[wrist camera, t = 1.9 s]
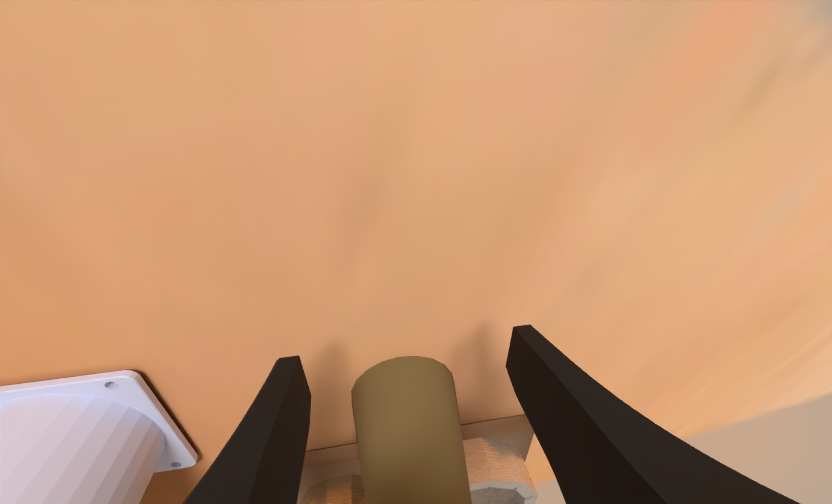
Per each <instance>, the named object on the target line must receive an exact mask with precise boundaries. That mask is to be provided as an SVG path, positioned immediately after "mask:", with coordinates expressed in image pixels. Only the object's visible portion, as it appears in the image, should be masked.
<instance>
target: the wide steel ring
mask: <svg viewBox="0 0 832 504" xmlns="http://www.w3.org/2000/svg"><path fill="white" fill-rule="evenodd" d="M463 446H464V453H465V459H466V466H467V473H468V480H469V486H470V491H473V490H478V489H483V488H485V489H483V490H481V491H479V492H476V493H474V494H472V495H471V500H472V504H534V503H535V501H536V499H537V496H538V494H537V492H536V489H535V487H534V484H533V482H532V479H531V477H530V475H529V472H528V470H527V467H526V465H525V462H524V460H523V458H522V455H521V454H520V453H519V452H518V451H517V450H516V449H515V448H514V447H513V446H512V444H511V443H510V442H506V441H500V440H494V439H488V438H481V437H480V438H474V439H468V440H463Z"/></svg>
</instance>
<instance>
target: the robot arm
mask: <svg viewBox="0 0 832 504" xmlns="http://www.w3.org/2000/svg"><path fill="white" fill-rule="evenodd" d="M506 368H507V371H508V374H509V377H510V380H511V383H512V385H513V388H514V391H515V393H516V396H517V398H518V400H519V402H520V404H521V406H522V408H523V410H524V412H525V414H526V416H527V419H528V421H529V423H530V425H531V427H532V429H533V431H534V433H535V435H536V437H537V439H538V441H539V443H540V445H541V447H542V449H543V451H544V453H545V455H546V457H547V459H548V461H549V463H550V465H551V467H552V470H553V472H554V474H555V476H556V479H557V482H558V484H559V487H560V489H561V491H562V494H563V497H564V499H565V502H566V504H800V503H798V502H796V501H794V500H792V499H790V498H788V497H785V496H784V495H782V494H779V493H777V492H775V491H773V490H771V489H769V488H767V487H765V486H763V485H761V484H759V483H757V482H755V481H753V480H752V479H750V478H748V477H746V476H744V475H742V474H740V473H738V472H737V471H735V470H733V469H731V468H729V467H727V466H726V465H724V464H722V463H720V462H718V461H716V460H715V459H713V458H711V457H709V456H708V455H706V454H704V453H702V452H701V451H699V450H697V449H695V448H694V447H692V446H690V445H689V444H687V443H686V442H684V441H682V440H681V439H679V438H677V437H676V436H674V435H672V434H671V433H669V432H668V431H666V430H665V429H663V428H661V427H660V426H658V425H657V424H655V423H654V422H652V421H651V420H649V419H648V418H646V417H645V416H643V415H642V414H640V413H639V412H637V411H636V410H634V409H633V408H632V407H630V406H629V405H627V404H626V403H625V402H623V401H622V400H620V399H619V398H618V397H616V396H615V395H614V394H612V393H611V392H610V391H608V390H607V389H606V388H604V387H603V386H602V385H600V384H599V383H598V382H597V381H595V380H594V379H593V378H592V377H590V376H589V375H588V374H587V373H586V372H584V371H583V370H582V369H581V368H580V367H578V366H577V365H576V364H575V363H573V362H572V361H571V360H570V359H569V358H568V357H566V356H565V355H564V354H563V353H562V352H561V351H560V350H558V349H557V348H556V347H555V346H554V345H553V344H552V343H550V342H549V341H548V340H547V339H546V338H545V337H544V336H542V335H541V334H540V333H539V332H538V331H537V330H536V329H535V328H533V327H532V326H531V325H523V326H516V327H513V331H512V336H511V342H510V347H509V352H508V357H507V362H506ZM310 409H311V393H310V390H309V386H308V383H307V380H306V377H305V373H304V370H303V367H302V364H301V360H300V357H299V356H292V357H284V358H279V359H278V360H277V361H276V363H275V365H274V367H273V368H272V370H271V372H270V374H269V376H268V378H267V379H266V381H265V383H264V385H263V386H262V388H261V390H260V391H259V393H258V395H257V397H256V398H255V400H254V402H253V403H252V405H251V406H250V408H249V410H248V411H247V413H246V414H245V416H244V418H243V419H242V421H241V422H240V424H239V426H238V427H237V429H236V430H235V432H234V433H233V435H232V436H231V438H230V439H229V441H228V442H227V443H226V445H225V446H224V448H223V449H222V451H221V452H220V454H219V455H218V457H217V458H216V460H215V461H214V462H213V464H212V465H211V467H210V468H209V469H208V471H207V472H206V473H205V475H204V476H203V477H202V479H201V480H200V481H199V483H198V484H197V485H196V487H195V488H194V489H193V491H192V492H191V493H190V495H189V496H188V497H187V498H186V500H185V501H184V502H183V504H297V499H298V493H299V487H300V481H301V475H302V470H303V464H304V458H305V452H306V446H307V439H308V433H309V425H310ZM197 459H198V455H197V454H196V452H195V451H194V449H193V448H192V447H191V445H190V444H189V442H188V441H187V440H186V438H185V437H184V435H183V434H182V433H181V431H180V430H179V429H178V427H177V426H176V424H175V423H174V422H173V420H172V419H171V417H170V416H169V415H168V413H167V412H166V410H165V409H164V408H163V406H162V405H161V403H160V402H159V401H158V399H157V398H156V397H155V395H154V394H153V392H152V391H151V390H150V388H149V387H148V385H147V384H146V383H145V381H144V380H143V378H142V377H141V376H140V375H139V374H138V373H137V372H135V371H131V370H122V371H114V372H107V373H99V374H91V375H84V376H76V377H69V378H61V379H53V380H46V381H38V382H30V383H23V384H15V385H7V386H0V504H139V503H140V501H141V499H142V497H143V495H144V493H145V491H146V489H147V486H148V484H149V482H150V480H151V478H152V476H153V474H154V473H158V472H163V471H169V470H175V469H181V468H187V467H191V466H193V465H195V464H196V461H197Z"/></svg>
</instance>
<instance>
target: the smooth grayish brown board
mask: <svg viewBox="0 0 832 504" xmlns="http://www.w3.org/2000/svg"><path fill="white" fill-rule="evenodd" d="M461 432H462V439H463V440H468V439H474V438H480V437H481V438H488V439H494V440H500V441H506V442H510V443H511V444H512V446H513V447H514V448H515V449H516V450H517V451H518V452H519V453H520V454H521V455H522V458H523V460H524V462H525V460H526V457H527V453H528V450H529V447H530V444H531V441H532V437H533V434H534V431H533V429H532V427H531V425H530V423H529V421H528V419H527V416H526V415H520V416H514V417H508V418H502V419H496V420H490V421H484V422H479V423H473V424H467V425H461ZM346 475H362V472H361V465H360V458H359V451H358V443H355V444H349V445H343V446H337V447H331V448H326V449H320V450H314V451H308V452H305V458H304V464H303V470H302V475H301V481H300V487H299V493H298V499H297V504H301V499H302V498H303V496H304V495H305V493H306V492H307V490H308V489H309V488H310V487H312V486H314V485H316V484H318V483H320V482H322V481H324V480H326V479H330V478H335V477H341V476H346ZM483 489H485V488H483ZM483 489H478V490H473V491H470V493H471V495H472V494H474V493H476V492H479V491H481V490H483Z"/></svg>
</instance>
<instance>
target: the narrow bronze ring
mask: <svg viewBox="0 0 832 504" xmlns="http://www.w3.org/2000/svg"><path fill="white" fill-rule="evenodd" d="M301 504H366V501H365V494H364V487H363V479H362V475H346V476H341V477H335V478H330V479H326V480H324V481H322V482H320V483H318V484H316V485H314V486H312V487H310V488H309V489H308V490H307V492H306V493H305V495H304V496H303V498H302V499H301Z"/></svg>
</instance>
